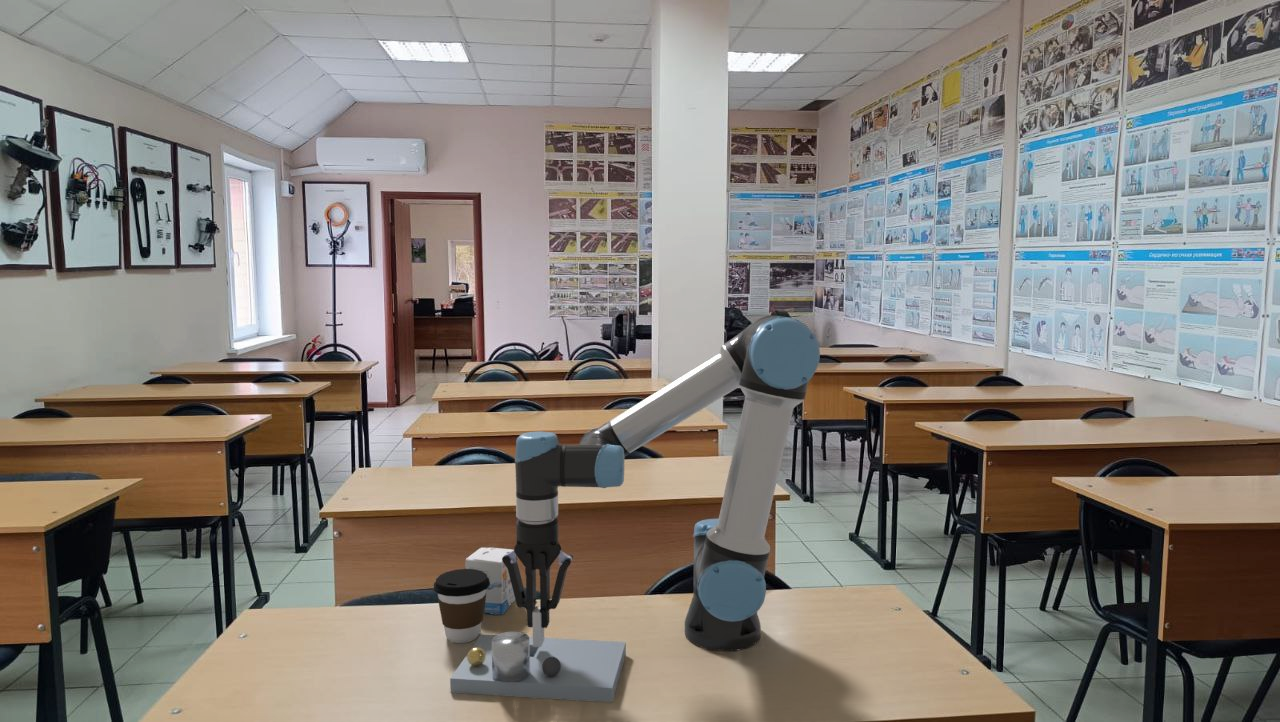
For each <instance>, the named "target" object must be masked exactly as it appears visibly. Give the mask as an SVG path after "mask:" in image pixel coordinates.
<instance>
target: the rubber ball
mask: <svg viewBox="0 0 1280 722" xmlns="http://www.w3.org/2000/svg"><path fill="white" fill-rule="evenodd" d="M560 669H561V664H560V661H559V660H558V659H557V658H556V657H548V658H546V659H545V660H544V662H543V664H542V670H543V672H544V674H545V675H547V676H550V677H553V676H555V675H557V674H558V673H559V671H560Z"/></svg>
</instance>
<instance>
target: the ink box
mask: <svg viewBox="0 0 1280 722" xmlns="http://www.w3.org/2000/svg"><path fill="white" fill-rule="evenodd" d="M513 550H514V549H512V548H511V549H509V548H501V547H480V548H479V549H477V550H476V551H474V552H473V553H472V554H470V555H469V556H468V557H466V558H465V562H464V563H465V569H476V570H480V571H483V572H484V573H486V574H487V577H488V578H489V580H490V585H489V587H488V588H487V589H486V601H485V608H484V614H485V613H492V614H491V615H496V614H501V615H500V616H503V615H504V614H505V612H506V611H508V609H509V608H510V607H511V606H510V604H511V603H512V604H514V603H515V602H516V600H515V596H514V592H513V588H512V584H511V580H510V576H509V572H508V569H507V567H506V566H505V564H504V563H503V561H502V558H503V556H504V555H505V554H506V553H507V552H511V551H513ZM512 604H511V605H512ZM509 606H510V607H509ZM508 607H509V608H508ZM507 608H508V609H507ZM503 613H504V614H503ZM502 614H503V615H502Z"/></svg>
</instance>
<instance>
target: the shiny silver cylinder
mask: <svg viewBox="0 0 1280 722" xmlns="http://www.w3.org/2000/svg"><path fill="white" fill-rule="evenodd" d="M495 635H496V636H495V637H494V638H493V639H492V676H493V678H494V679H495V680H497V681H500V682H517V681H520V680H523V679H525V678H526V677H527V676H528V675H529V673H530V649H529V637H530V636H529V635H528V634H527V633H524V632H522V631H513V630H512V631H505V632H501V633H499V634H495Z"/></svg>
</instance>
